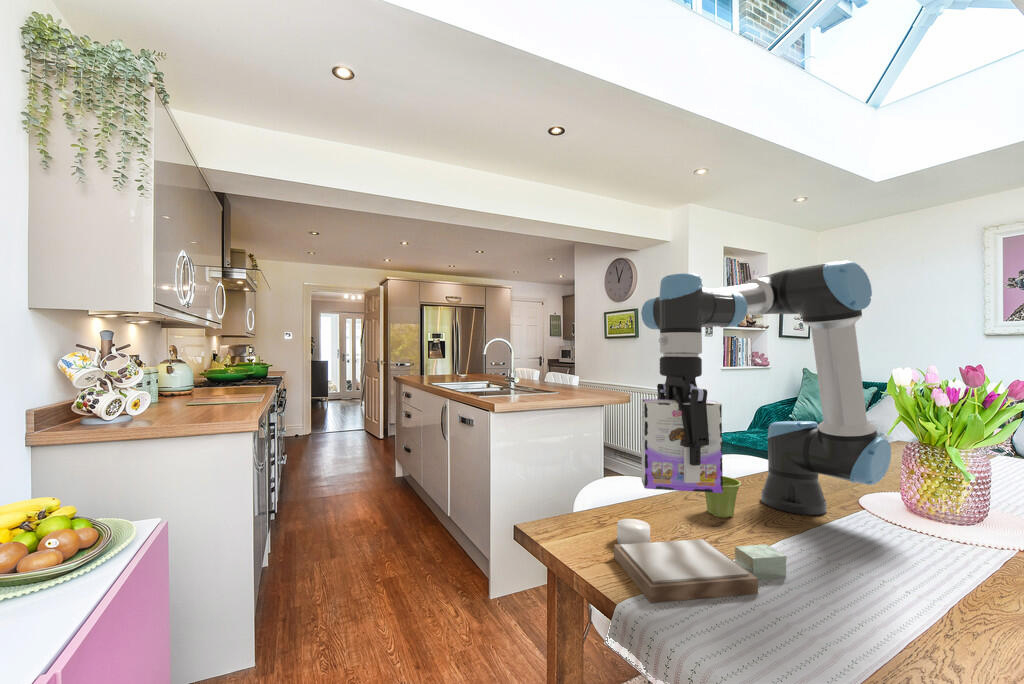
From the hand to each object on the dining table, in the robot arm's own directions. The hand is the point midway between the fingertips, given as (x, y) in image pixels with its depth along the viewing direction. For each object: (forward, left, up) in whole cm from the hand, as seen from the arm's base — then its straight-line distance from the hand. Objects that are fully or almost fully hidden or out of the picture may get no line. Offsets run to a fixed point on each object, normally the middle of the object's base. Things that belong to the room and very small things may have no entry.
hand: (680, 475), depth 82 cm
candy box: (0, 0, -2) cm, 2 cm away
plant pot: (-27, -27, -19) cm, 43 cm away
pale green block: (-16, +1, -19) cm, 25 cm away
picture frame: (0, 0, -18) cm, 18 cm away
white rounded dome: (+3, -14, -19) cm, 24 cm away
